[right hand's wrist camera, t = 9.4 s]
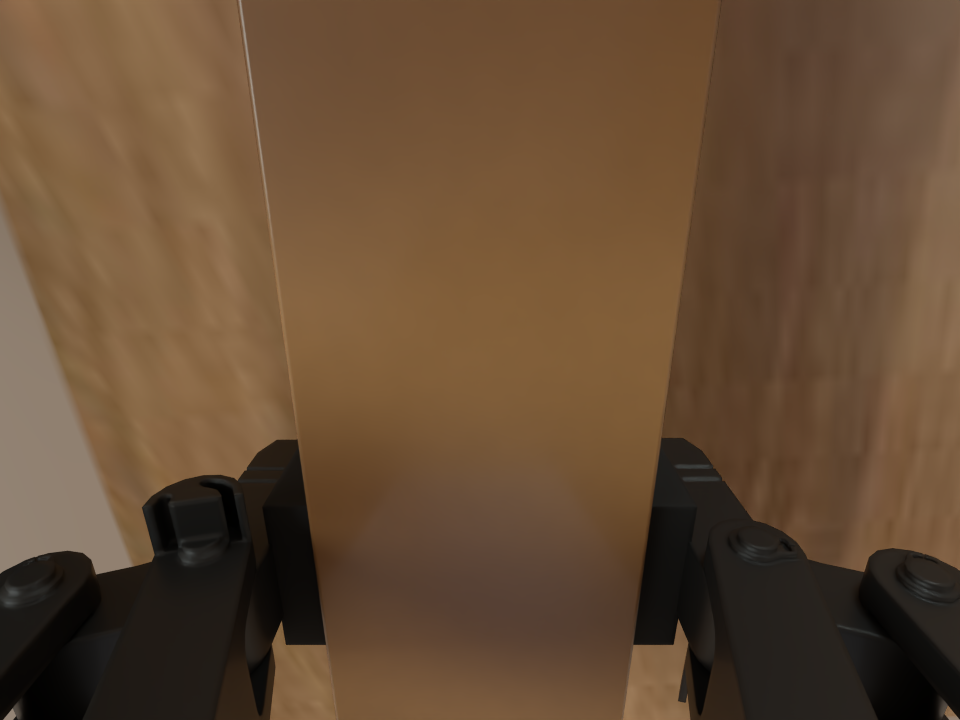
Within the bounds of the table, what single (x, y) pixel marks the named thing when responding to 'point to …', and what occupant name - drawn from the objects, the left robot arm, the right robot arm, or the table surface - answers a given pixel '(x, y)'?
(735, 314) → the table surface
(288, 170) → the post
